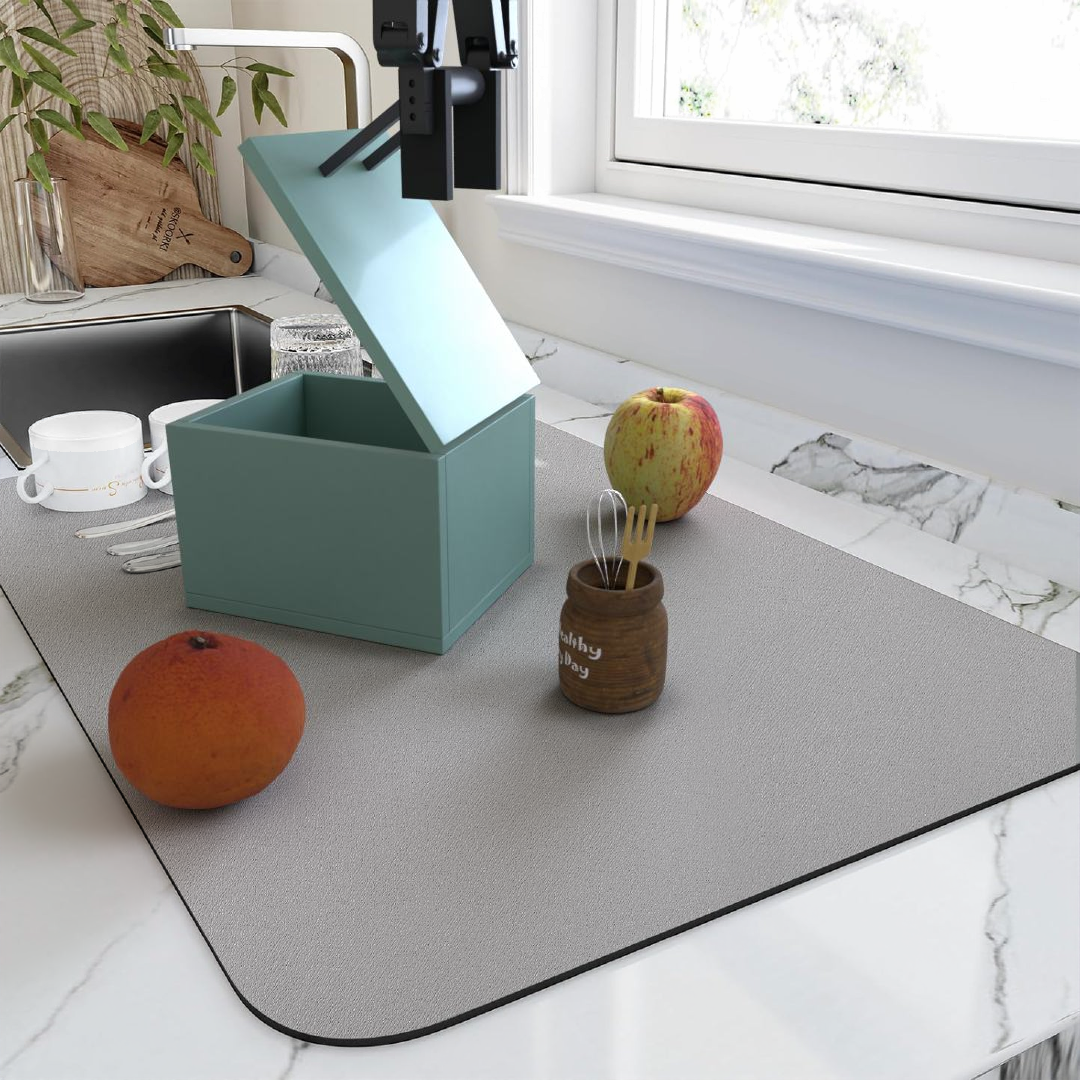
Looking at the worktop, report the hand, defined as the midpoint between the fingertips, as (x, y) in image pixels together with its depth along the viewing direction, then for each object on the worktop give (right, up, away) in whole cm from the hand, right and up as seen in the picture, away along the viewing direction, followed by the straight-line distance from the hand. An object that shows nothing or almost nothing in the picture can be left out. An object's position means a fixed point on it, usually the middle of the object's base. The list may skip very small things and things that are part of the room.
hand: (453, 192), depth 65 cm
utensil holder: (+9, -28, -1) cm, 30 cm away
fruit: (-11, -31, -10) cm, 35 cm away
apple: (+14, -18, +24) cm, 33 cm away
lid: (-3, -4, +3) cm, 6 cm away
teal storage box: (-7, -22, +12) cm, 26 cm away
